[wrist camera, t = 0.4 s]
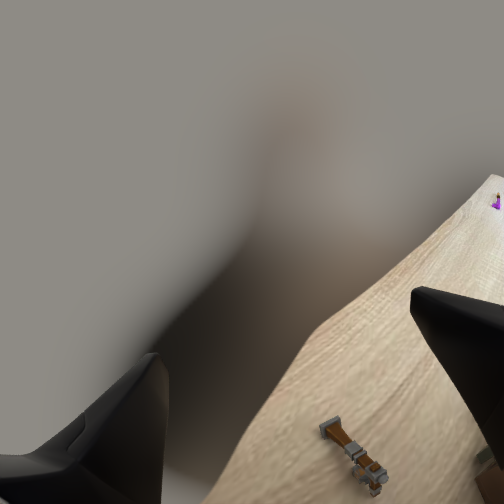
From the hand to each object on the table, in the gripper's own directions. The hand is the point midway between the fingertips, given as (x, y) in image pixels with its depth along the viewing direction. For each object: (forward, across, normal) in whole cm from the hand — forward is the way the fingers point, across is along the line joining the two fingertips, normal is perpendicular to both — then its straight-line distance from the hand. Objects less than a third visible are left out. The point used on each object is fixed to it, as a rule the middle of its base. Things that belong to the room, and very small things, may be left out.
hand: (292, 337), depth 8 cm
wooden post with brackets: (+2, -3, +17) cm, 17 cm away
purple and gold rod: (+43, -71, +14) cm, 84 cm away
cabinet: (-12, -20, +20) cm, 31 cm away
